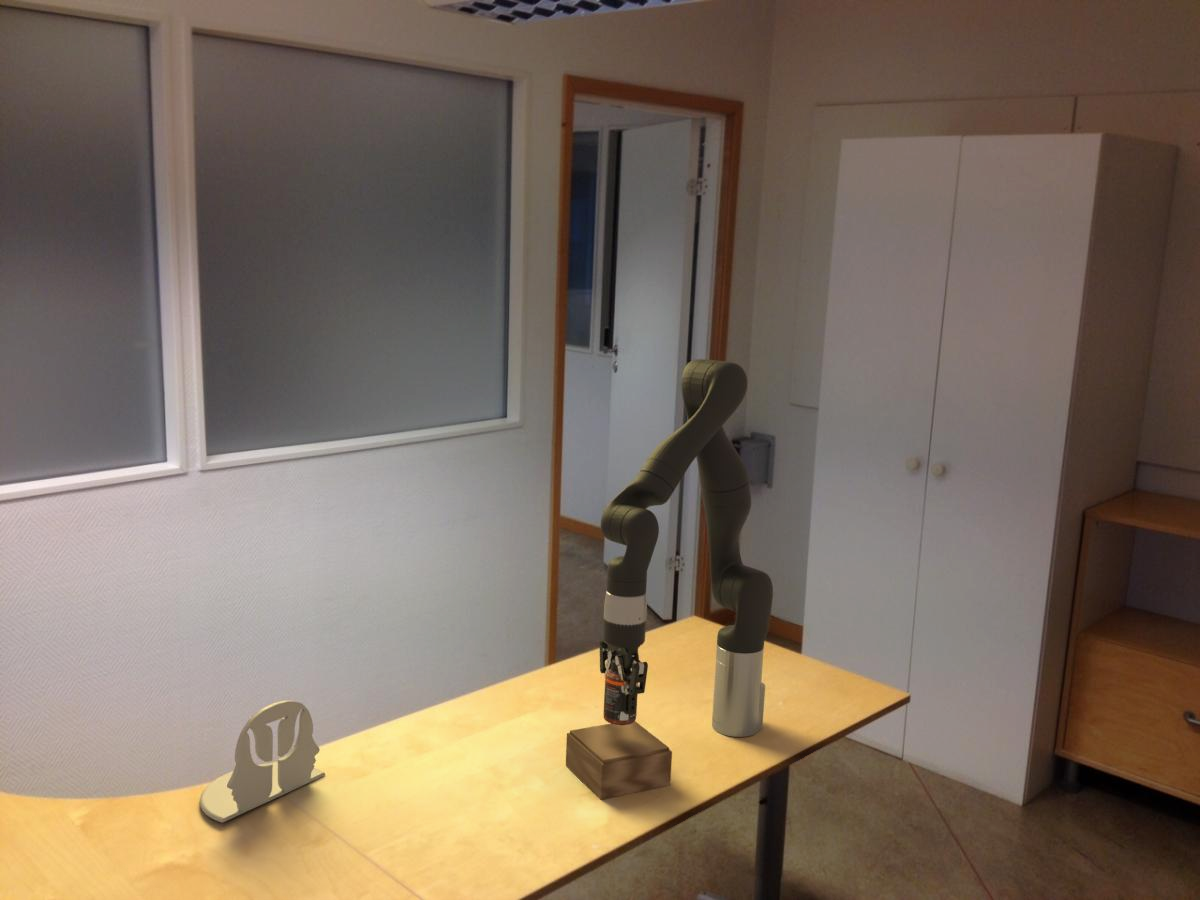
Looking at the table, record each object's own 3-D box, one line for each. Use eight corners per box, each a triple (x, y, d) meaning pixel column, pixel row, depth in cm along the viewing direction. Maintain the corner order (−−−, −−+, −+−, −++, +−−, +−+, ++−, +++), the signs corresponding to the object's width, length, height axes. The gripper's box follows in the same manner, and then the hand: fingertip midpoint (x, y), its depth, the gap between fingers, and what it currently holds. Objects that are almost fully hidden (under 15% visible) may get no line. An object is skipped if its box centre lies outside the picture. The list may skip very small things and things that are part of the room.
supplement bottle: (633, 728, 196) (636, 667, 194) (600, 724, 197) (602, 663, 195) (638, 715, 201) (641, 656, 200) (606, 711, 203) (609, 652, 201)
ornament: (222, 823, 179) (220, 725, 176) (172, 798, 186) (169, 704, 183) (327, 775, 197) (327, 685, 194) (277, 754, 204) (276, 667, 201)
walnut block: (632, 753, 210) (633, 718, 209) (670, 785, 198) (672, 748, 197) (565, 766, 204) (567, 730, 203) (600, 799, 192) (602, 761, 190)
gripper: (663, 626, 191) (658, 718, 194) (624, 602, 204) (619, 689, 207) (625, 631, 188) (621, 725, 191) (587, 606, 201) (583, 695, 203)
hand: (620, 706), depth 199 cm, fingers closed on supplement bottle, 6 cm apart
